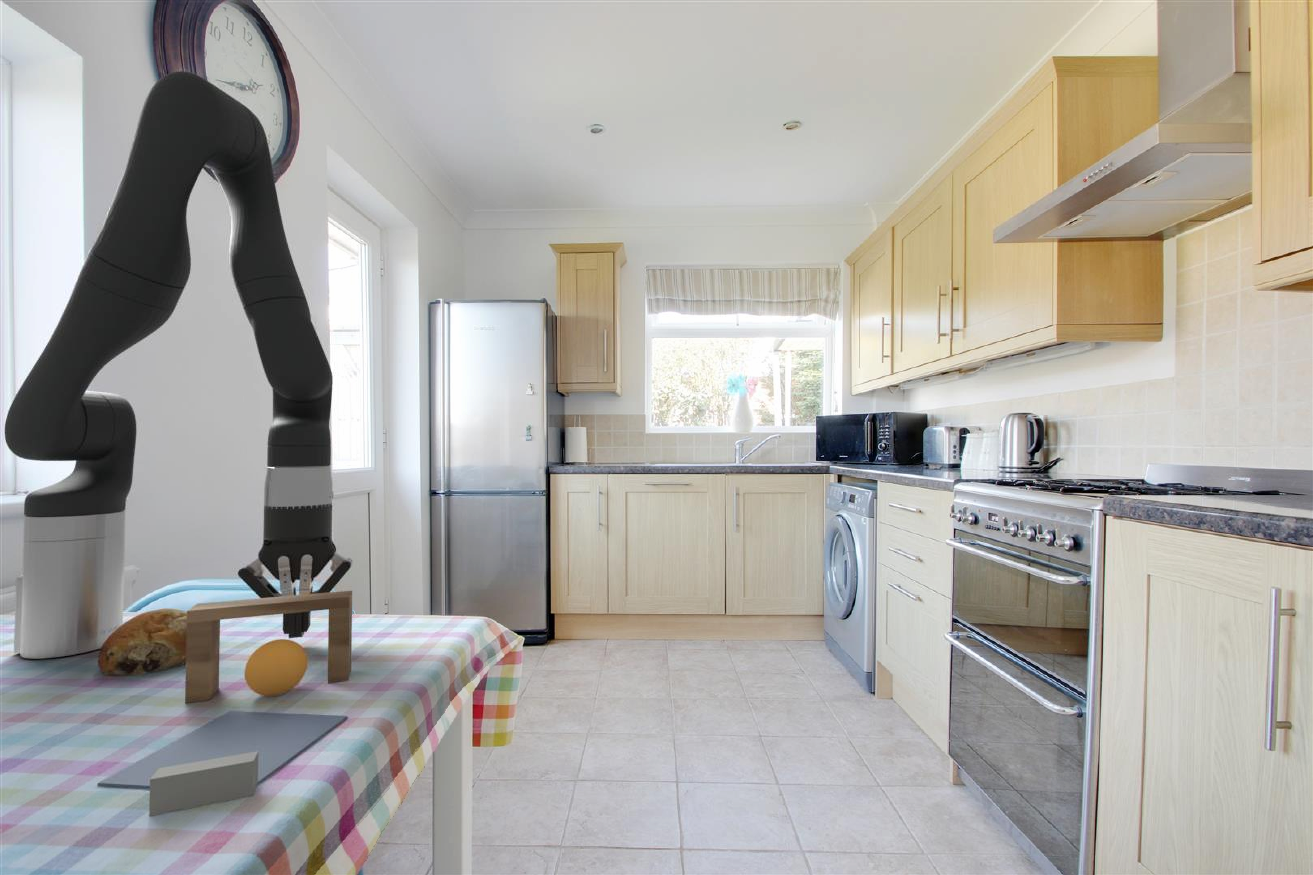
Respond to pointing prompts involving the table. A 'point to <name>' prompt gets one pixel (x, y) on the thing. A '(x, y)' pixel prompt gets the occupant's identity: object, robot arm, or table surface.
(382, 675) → the table surface
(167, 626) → the bread roll
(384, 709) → the table surface
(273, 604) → the bridge
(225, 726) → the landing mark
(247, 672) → the ball
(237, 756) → the rail
